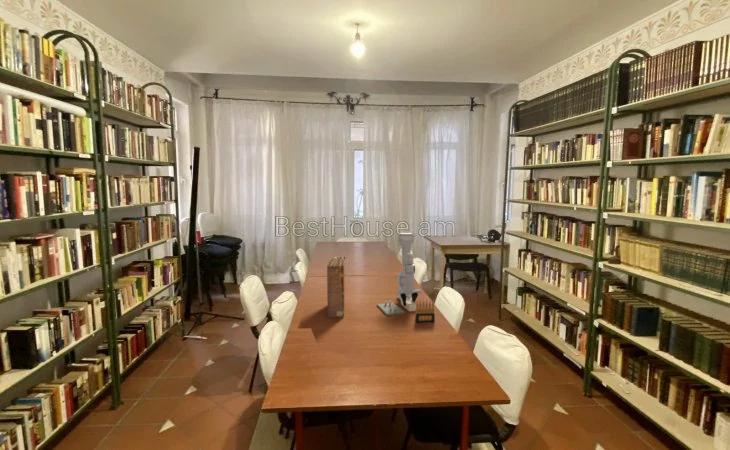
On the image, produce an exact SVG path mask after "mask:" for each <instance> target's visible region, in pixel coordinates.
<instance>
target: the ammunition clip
mask: <svg viewBox="0 0 730 450" xmlns="http://www.w3.org/2000/svg"><path fill="white" fill-rule="evenodd" d="M422 301H423V302H422ZM422 301H421V300H420V301H416V302H415V303H416V311H415V317H414V322H415V323H416V324H420V323H421V324H422V323H424V324H425V323H435V321H436V318H435V316H436V315H435V301H433V300H432V302H431V300H429V302H428V301H427V300H426V301H424V300H422Z"/></svg>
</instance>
